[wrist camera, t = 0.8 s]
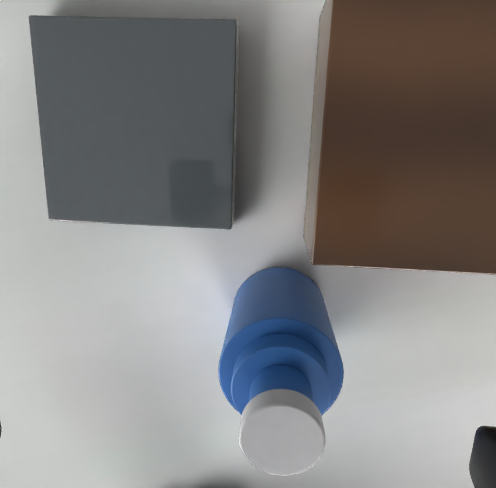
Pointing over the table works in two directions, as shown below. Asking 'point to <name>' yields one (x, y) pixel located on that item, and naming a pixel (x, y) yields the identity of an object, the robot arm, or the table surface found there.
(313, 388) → the blue bottle
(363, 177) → the walnut block
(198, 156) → the slate tile
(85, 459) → the table surface
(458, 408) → the table surface
